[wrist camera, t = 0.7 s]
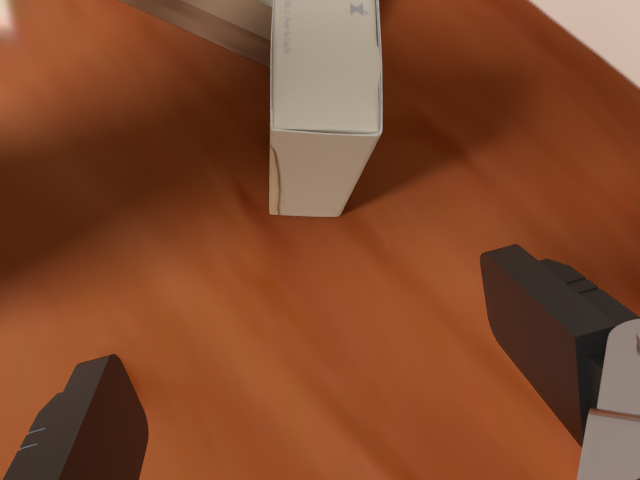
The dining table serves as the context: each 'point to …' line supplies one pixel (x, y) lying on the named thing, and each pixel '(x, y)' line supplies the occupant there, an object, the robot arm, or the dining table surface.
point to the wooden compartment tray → (220, 22)
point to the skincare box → (322, 102)
